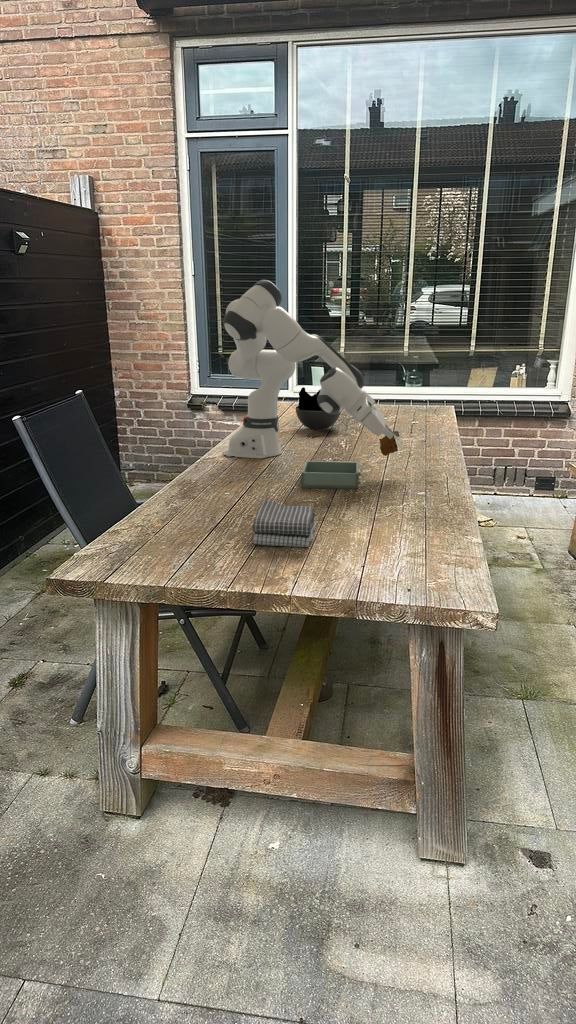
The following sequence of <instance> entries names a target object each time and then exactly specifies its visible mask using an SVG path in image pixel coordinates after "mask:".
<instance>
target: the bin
mask: <svg viewBox="0 0 576 1024" xmlns="http://www.w3.org/2000/svg"><path fill="white" fill-rule="evenodd" d="M304 462H305V463H304V464H303V468H302V471H301V489H302V488H303V489H337V490H339V489H340V490H342V489H343V490H359V476H360V475H359V468H360V462H359V461H358V462H329V460H327V461H325V460H323V461H322V460H320V461H319V460H317V461H316V460H315V461H314V460H306V461H304Z"/></svg>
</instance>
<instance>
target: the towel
mask: <svg viewBox="0 0 576 1024" xmlns="http://www.w3.org/2000/svg"><path fill="white" fill-rule="evenodd" d="M314 512H315V506H312V505H311V506H310V505H288V504H287V505H282V504H279V503H277V502H276V501H273V500H270V499H267V498H265V499H263V500H262V503H261V505H260V507H259V509H258V510H257V513H256V515H255V517H254V519H253V523H252V524H253V525H252V528H251V529H252V532H253V536H252V537H253V538H252V543H253V545H258V546H269V547H270V546H272V547H277V546H278V547H293V548H309V547H310V543H311V541H312V540H313V538H314V531H315V526H316V521H315V516H316V514H315V513H314Z"/></svg>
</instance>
